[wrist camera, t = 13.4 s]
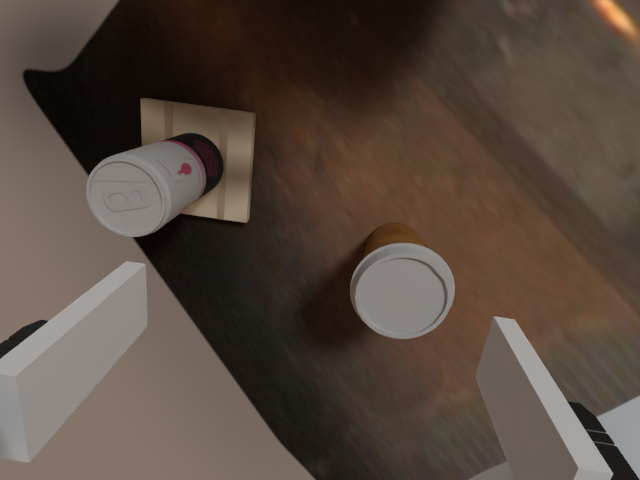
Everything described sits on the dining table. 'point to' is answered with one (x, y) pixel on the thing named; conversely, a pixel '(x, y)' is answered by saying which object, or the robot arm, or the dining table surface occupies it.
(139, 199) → the beverage can
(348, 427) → the dining table surface
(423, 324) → the disposable coffee cup
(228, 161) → the trivet
